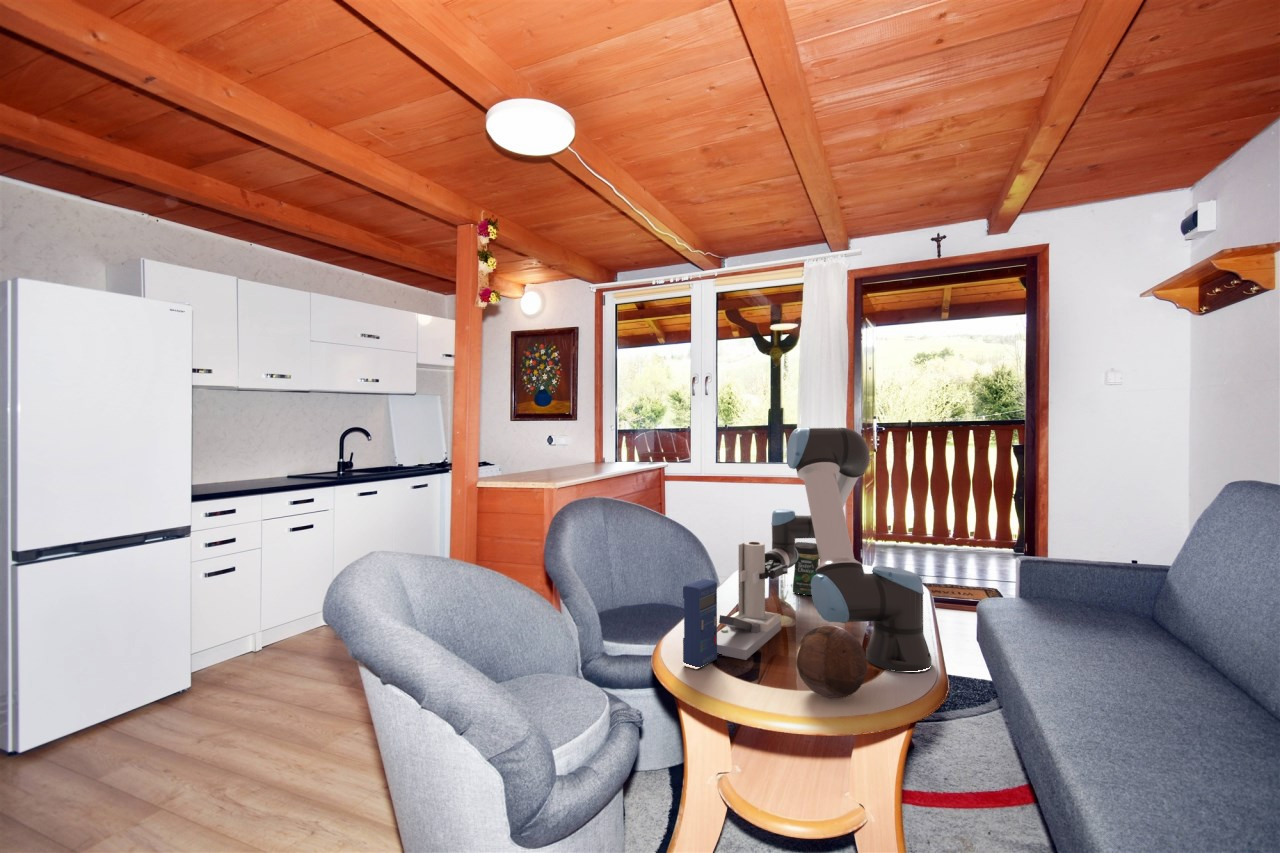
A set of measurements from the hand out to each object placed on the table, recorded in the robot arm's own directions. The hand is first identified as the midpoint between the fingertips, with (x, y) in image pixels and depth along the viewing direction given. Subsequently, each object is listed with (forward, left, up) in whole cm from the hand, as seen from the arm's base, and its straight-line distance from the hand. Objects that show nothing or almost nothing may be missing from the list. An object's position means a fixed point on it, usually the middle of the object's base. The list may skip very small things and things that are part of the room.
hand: (747, 577), depth 170 cm
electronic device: (-15, +21, -17) cm, 30 cm away
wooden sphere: (-41, +1, -17) cm, 44 cm away
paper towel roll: (+4, -4, -12) cm, 14 cm away
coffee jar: (+36, -42, -17) cm, 58 cm away
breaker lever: (-2, +2, -13) cm, 13 cm away
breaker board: (-2, +2, -17) cm, 17 cm away
